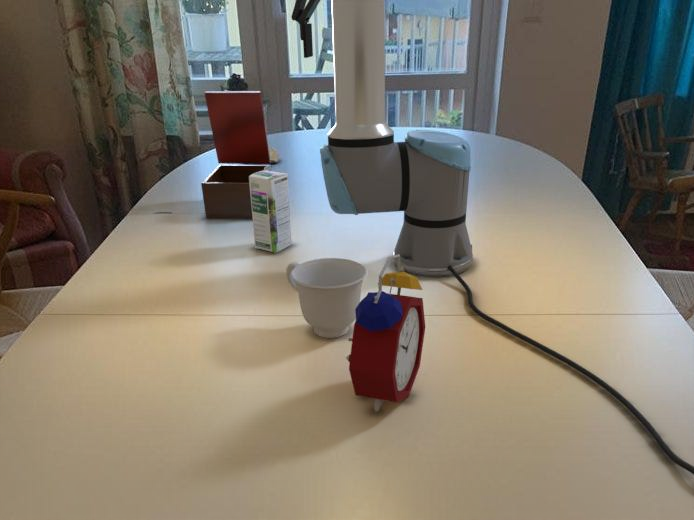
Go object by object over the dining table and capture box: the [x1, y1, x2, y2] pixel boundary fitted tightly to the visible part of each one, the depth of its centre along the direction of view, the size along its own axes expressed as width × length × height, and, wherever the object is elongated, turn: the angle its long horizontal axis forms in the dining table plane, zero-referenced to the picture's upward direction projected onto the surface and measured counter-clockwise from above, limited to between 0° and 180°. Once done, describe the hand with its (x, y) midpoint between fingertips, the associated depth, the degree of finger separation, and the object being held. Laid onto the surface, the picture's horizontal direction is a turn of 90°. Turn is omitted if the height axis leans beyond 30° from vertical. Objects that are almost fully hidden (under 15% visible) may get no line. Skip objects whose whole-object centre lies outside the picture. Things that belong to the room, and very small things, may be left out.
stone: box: [269, 146, 280, 164], centre depth 205 cm, size 8×10×4 cm
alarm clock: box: [342, 254, 426, 413], centre depth 99 cm, size 15×9×20 cm, turn 158°
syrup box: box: [249, 170, 293, 254], centre depth 148 cm, size 6×6×14 cm
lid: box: [204, 90, 272, 165], centre depth 168 cm, size 16×13×1 cm
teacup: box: [285, 257, 368, 339], centre depth 119 cm, size 12×15×10 cm
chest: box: [200, 164, 272, 220], centre depth 171 cm, size 16×13×8 cm
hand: (333, 58), depth 167 cm, fingers open, 13 cm apart
